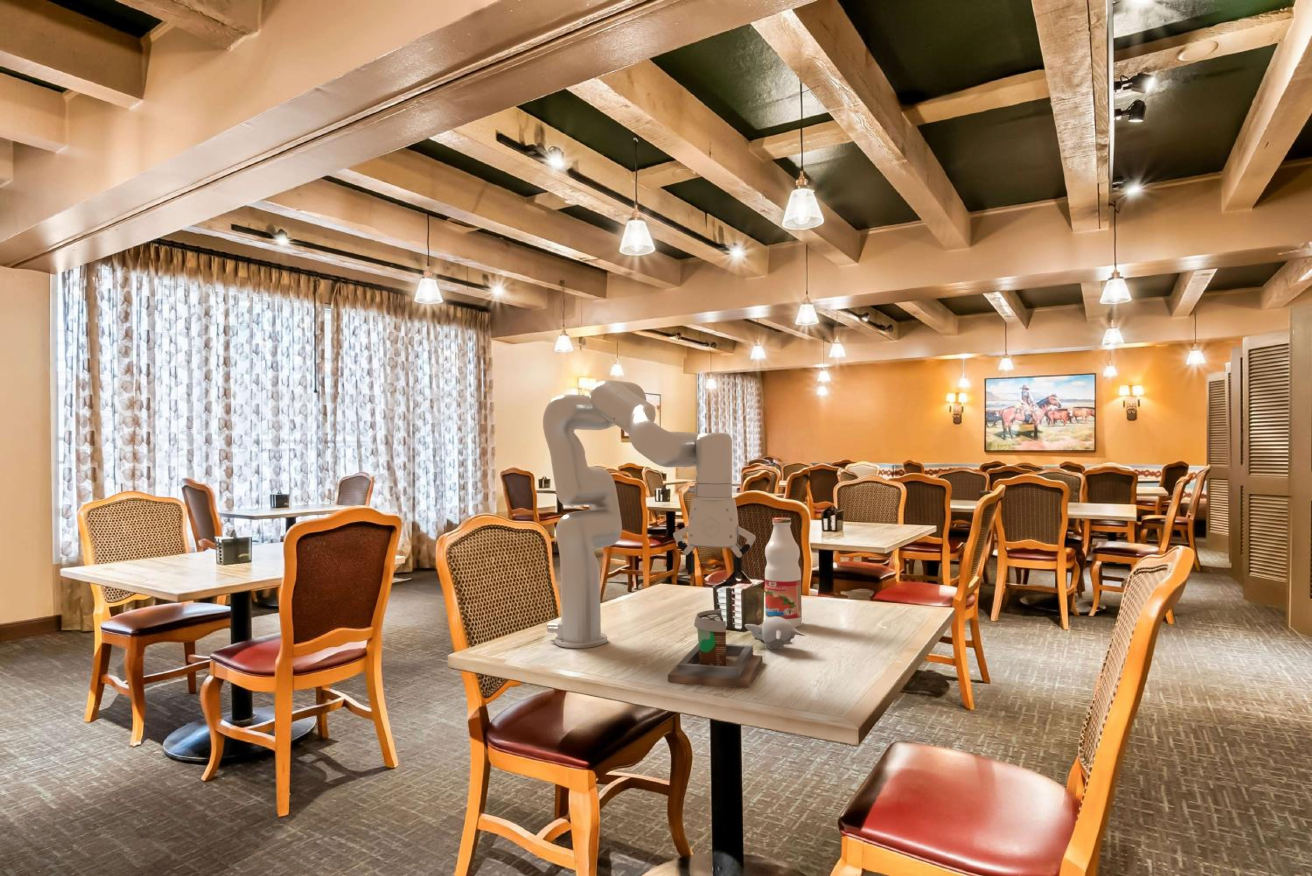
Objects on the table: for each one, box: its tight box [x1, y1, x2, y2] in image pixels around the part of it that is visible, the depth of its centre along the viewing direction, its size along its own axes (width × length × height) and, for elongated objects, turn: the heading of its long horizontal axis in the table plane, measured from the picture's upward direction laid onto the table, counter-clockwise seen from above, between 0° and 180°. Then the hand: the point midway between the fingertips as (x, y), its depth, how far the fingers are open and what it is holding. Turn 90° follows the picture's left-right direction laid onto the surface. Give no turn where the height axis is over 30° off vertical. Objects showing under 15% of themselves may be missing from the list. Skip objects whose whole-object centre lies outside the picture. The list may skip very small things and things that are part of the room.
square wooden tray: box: [667, 642, 763, 689], centre depth 150 cm, size 16×18×4 cm
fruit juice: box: [764, 517, 803, 628], centre depth 192 cm, size 9×9×28 cm
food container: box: [693, 609, 727, 666], centre depth 151 cm, size 12×6×10 cm, turn 179°
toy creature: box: [744, 616, 806, 650], centre depth 169 cm, size 13×7×20 cm
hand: (713, 574), depth 151 cm, fingers open, 9 cm apart
